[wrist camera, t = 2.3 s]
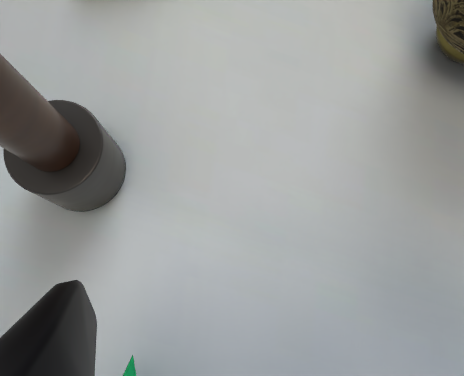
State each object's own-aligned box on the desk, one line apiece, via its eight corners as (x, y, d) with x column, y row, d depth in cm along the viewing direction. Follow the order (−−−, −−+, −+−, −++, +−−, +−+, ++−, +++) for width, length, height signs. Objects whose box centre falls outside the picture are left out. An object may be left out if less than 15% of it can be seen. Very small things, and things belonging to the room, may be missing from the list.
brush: (124, 210, 22) (-1, 120, 11) (39, 212, 22) (-179, 125, 11) (127, 130, 23) (16, -33, 12) (46, 132, 23) (-146, -27, 12)
